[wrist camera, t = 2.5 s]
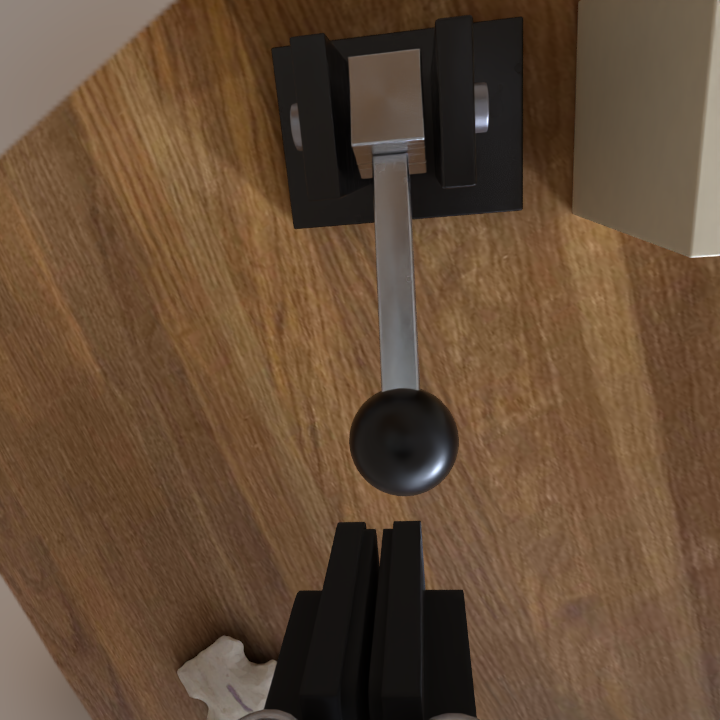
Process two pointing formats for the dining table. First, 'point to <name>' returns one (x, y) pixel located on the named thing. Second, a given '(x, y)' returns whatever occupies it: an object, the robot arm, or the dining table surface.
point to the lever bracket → (442, 121)
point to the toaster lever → (395, 280)
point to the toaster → (649, 121)
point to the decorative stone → (227, 680)
